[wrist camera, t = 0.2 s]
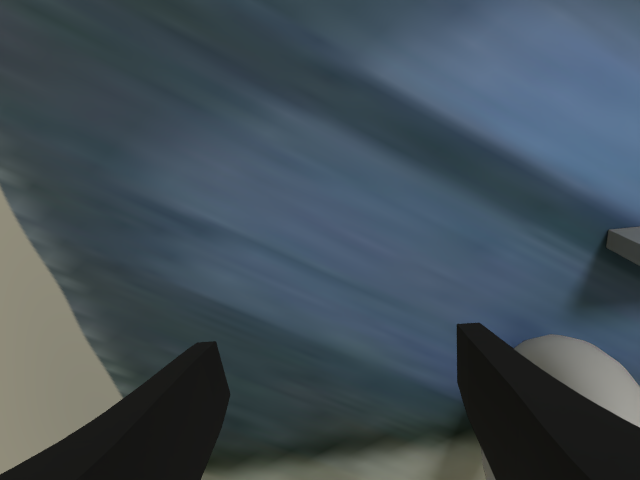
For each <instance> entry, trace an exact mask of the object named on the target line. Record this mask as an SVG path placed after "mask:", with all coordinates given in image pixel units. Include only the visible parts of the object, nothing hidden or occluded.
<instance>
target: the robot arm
mask: <svg viewBox="0 0 640 480" xmlns="http://www.w3.org/2000/svg"><path fill="white" fill-rule="evenodd" d="M457 383H458V386H459V389H460V393H461V396H462V399H463V403H464V406H465V409H466V412H467V415H468V418H469V420H470V423H471V425H472V427H473V430H474V432H475V434H476V436H477V439H478V441H479V443H480V446H481V448H482V450H483V452H484V455H485V457H486V459H487V461H488V464H489V466H490V468H491V470H492V473H493V475H494V477H495V479H496V480H640V427H638V426H636V425H634V424H632V423H630V422H628V421H626V420H625V419H623V418H621V417H619V416H617V415H616V414H614V413H612V412H610V411H608V410H607V409H605V408H603V407H601V406H600V405H598V404H596V403H594V402H593V401H591V400H589V399H587V398H586V397H584V396H582V395H581V394H579V393H578V392H576V391H574V390H573V389H571V388H570V387H568V386H567V385H565V384H564V383H562V382H560V381H559V380H557V379H556V378H554V377H553V376H551V375H550V374H548V373H547V372H545V371H544V370H542V369H541V368H540V367H538V366H537V365H535V364H534V363H532V362H531V361H530V360H528V359H527V358H525V357H524V356H523V355H521V354H520V353H519V352H517V351H516V350H515V349H513V348H512V347H511V346H509V345H508V344H507V343H505V342H504V341H503V340H501V339H500V338H499V337H497V336H496V335H495V334H494V333H492V332H491V331H490V330H488V329H487V328H486V327H484V326H483V325H482V324H480V323H467V324H457ZM229 398H230V391H229V388H228V384H227V380H226V377H225V373H224V369H223V366H222V362H221V358H220V354H219V351H218V347H217V343H216V341H214V342H200V343H196V344H195V345H193V346H192V347H190V348H189V349H187V350H186V351H185V352H183V353H182V354H181V355H179V356H178V357H177V358H176V359H174V360H173V361H172V362H170V363H169V364H168V365H167V366H165V367H164V368H163V369H162V370H160V371H159V372H158V373H156V374H155V375H154V376H153V377H151V378H150V379H149V380H147V381H146V382H145V383H144V384H142V385H141V386H140V387H138V388H137V389H136V390H134V391H133V392H132V393H130V394H129V395H128V396H126V397H125V398H123V399H122V400H121V401H119V402H118V403H117V404H115V405H114V406H112V407H111V408H110V409H108V410H107V411H106V412H104V413H103V414H101V415H100V416H99V417H97V418H95V419H94V420H92V421H91V422H89V423H88V424H86V425H85V426H83V427H82V428H80V429H78V430H77V431H75V432H74V433H72V434H71V435H69V436H67V437H66V438H64V439H63V440H61V441H59V442H58V443H56V444H54V445H52V446H51V447H49V448H47V449H45V450H44V451H42V452H40V453H38V454H37V455H35V456H33V457H31V458H30V459H28V460H26V461H24V462H22V463H21V464H19V465H17V466H15V467H14V468H12V469H10V470H8V471H6V472H4V473H3V474H1V475H0V480H201V477H202V475H203V473H204V470H205V468H206V465H207V463H208V460H209V458H210V455H211V453H212V450H213V448H214V445H215V443H216V440H217V438H218V435H219V433H220V430H221V428H222V424H223V421H224V417H225V414H226V410H227V406H228V402H229Z"/></svg>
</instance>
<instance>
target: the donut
mask: <svg viewBox="0 0 640 480" xmlns="http://www.w3.org/2000/svg"><path fill="white" fill-rule="evenodd" d="M514 349H515V350H516V351H517V352H519V353H520V354H521V355H523V356H524V357H525V358H527V359H528V360H530V361H531V362H532V363H534V364H535V365H537V366H538V367H540V368H541V369H542V370H544V371H545V372H547V373H548V374H550V375H551V376H553V377H554V378H556V379H557V380H559V381H560V382H562V383H564V384H565V385H567V386H568V387H570V388H571V389H573V390H574V391H576V392H578V393H579V394H581V395H582V396H584V397H586V398H587V399H589V400H591V401H593V402H594V403H596V404H598V405H600V406H601V407H603V408H605V409H607V410H608V411H610V412H612V413H614V414H616V415H617V416H619V417H621V418H623V419H625V420H626V421H628V422H630V423H632V424H634V425H636V426H638V427H640V387H639V385H638V384H637V383H636V381H635V380H634V379H633V378H632V376H631V375H630V374H629V372H628V371H627V370H626V369H625V368H624V367H623V366H622V365H621V364H620V363H619V362H618V361H616V360H615V359H613V358H612V357H610V356H609V355H608V354H606V353H605V352H603V351H602V350H600V349H599V348H597V347H596V346H595V345H593V344H591V343H588V342H586V341H584V340H579V339H575V338H571V337H566V336H562V335H553V334H550V335H546V336H541V337H537V338H533V339H529V340H525V341H523V342H522V343H520V344H519V345H518V346H516V347H515V348H514ZM481 451H482V461H483V468H484V472H485V475H486V479H487V480H496V479H495V477H494V475H493V473H492V470H491V468H490V466H489V464H488V461H487V459H486V457H485V455H484V452H483V450H482V448H481Z"/></svg>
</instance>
